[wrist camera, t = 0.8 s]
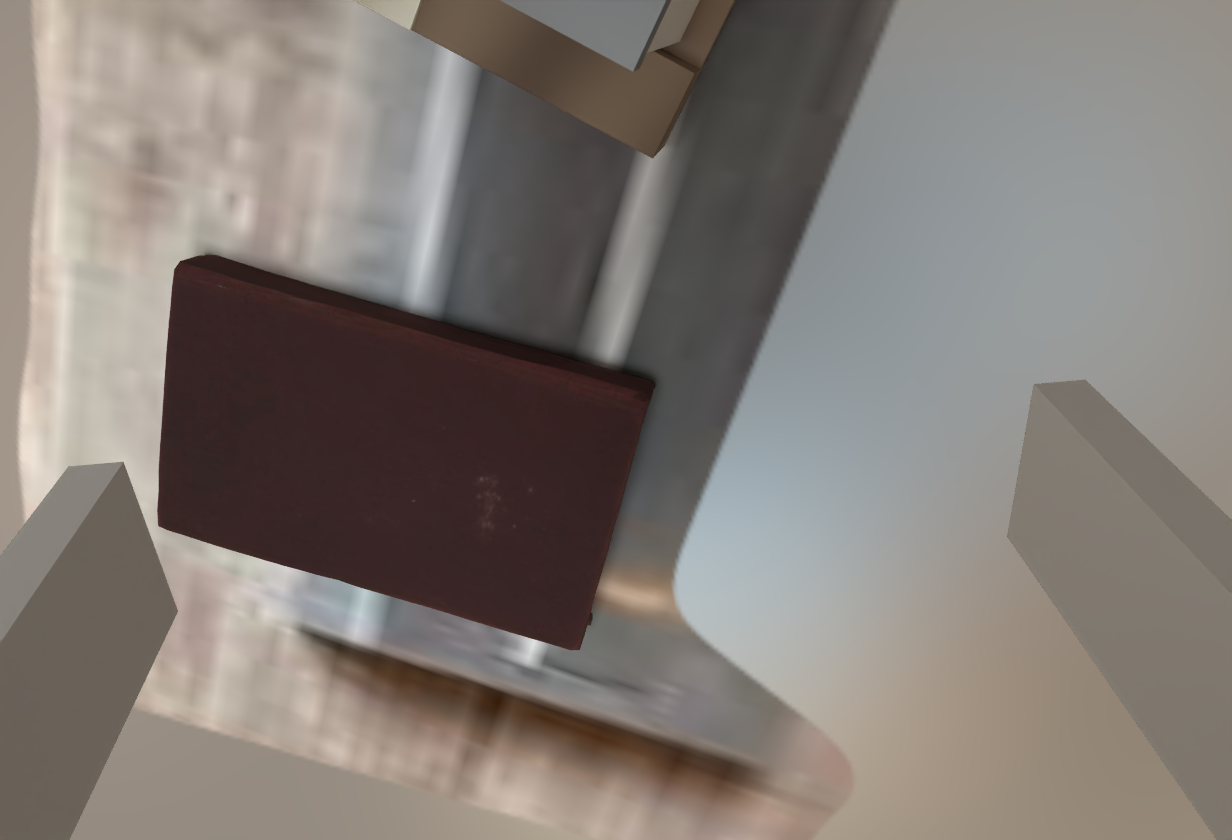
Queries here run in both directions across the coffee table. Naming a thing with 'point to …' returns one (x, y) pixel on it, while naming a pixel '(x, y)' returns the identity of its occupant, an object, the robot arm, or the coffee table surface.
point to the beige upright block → (615, 24)
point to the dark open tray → (571, 62)
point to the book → (392, 449)
